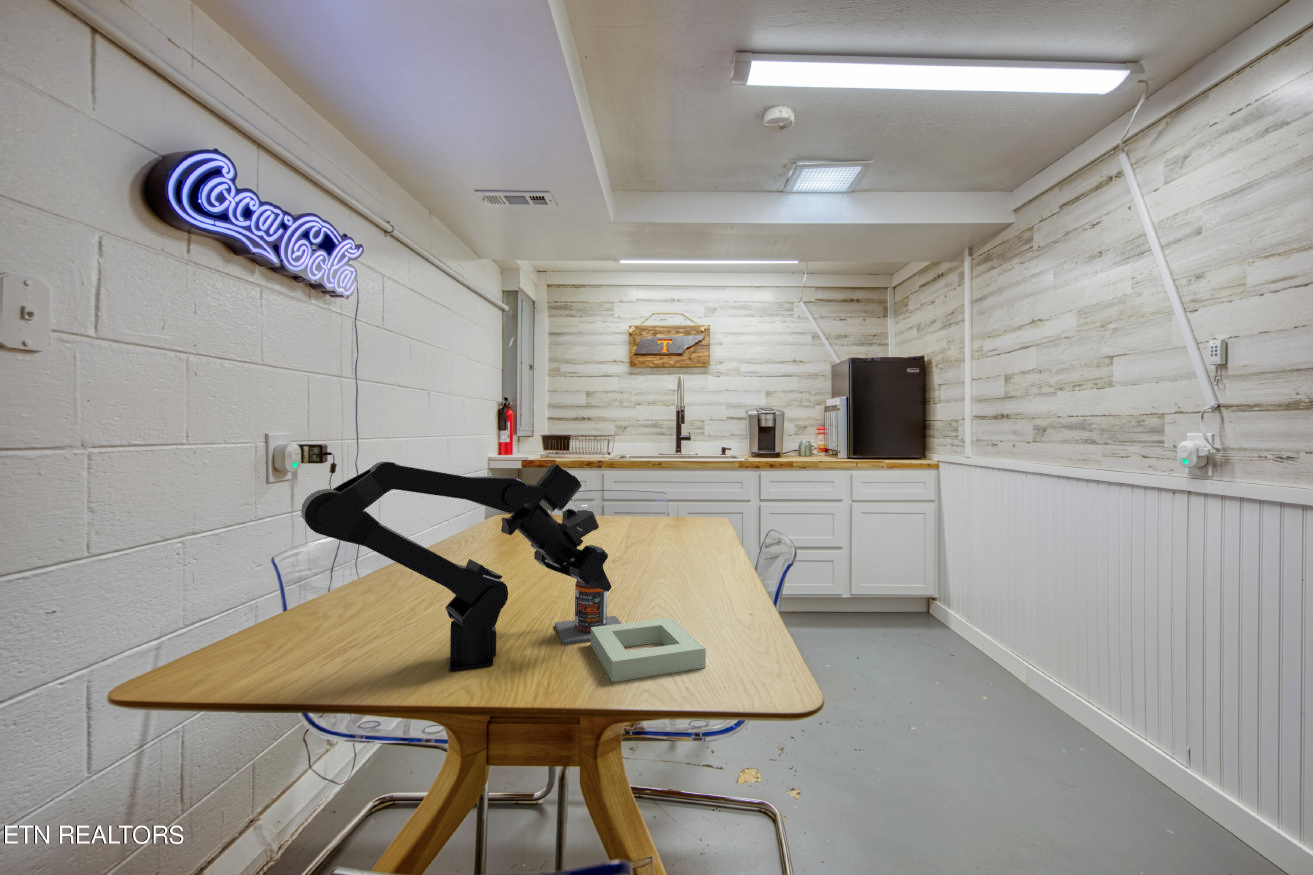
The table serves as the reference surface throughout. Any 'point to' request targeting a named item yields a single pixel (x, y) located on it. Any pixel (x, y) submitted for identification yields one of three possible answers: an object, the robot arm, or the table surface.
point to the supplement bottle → (589, 607)
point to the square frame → (646, 649)
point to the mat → (573, 635)
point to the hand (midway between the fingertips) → (596, 583)
